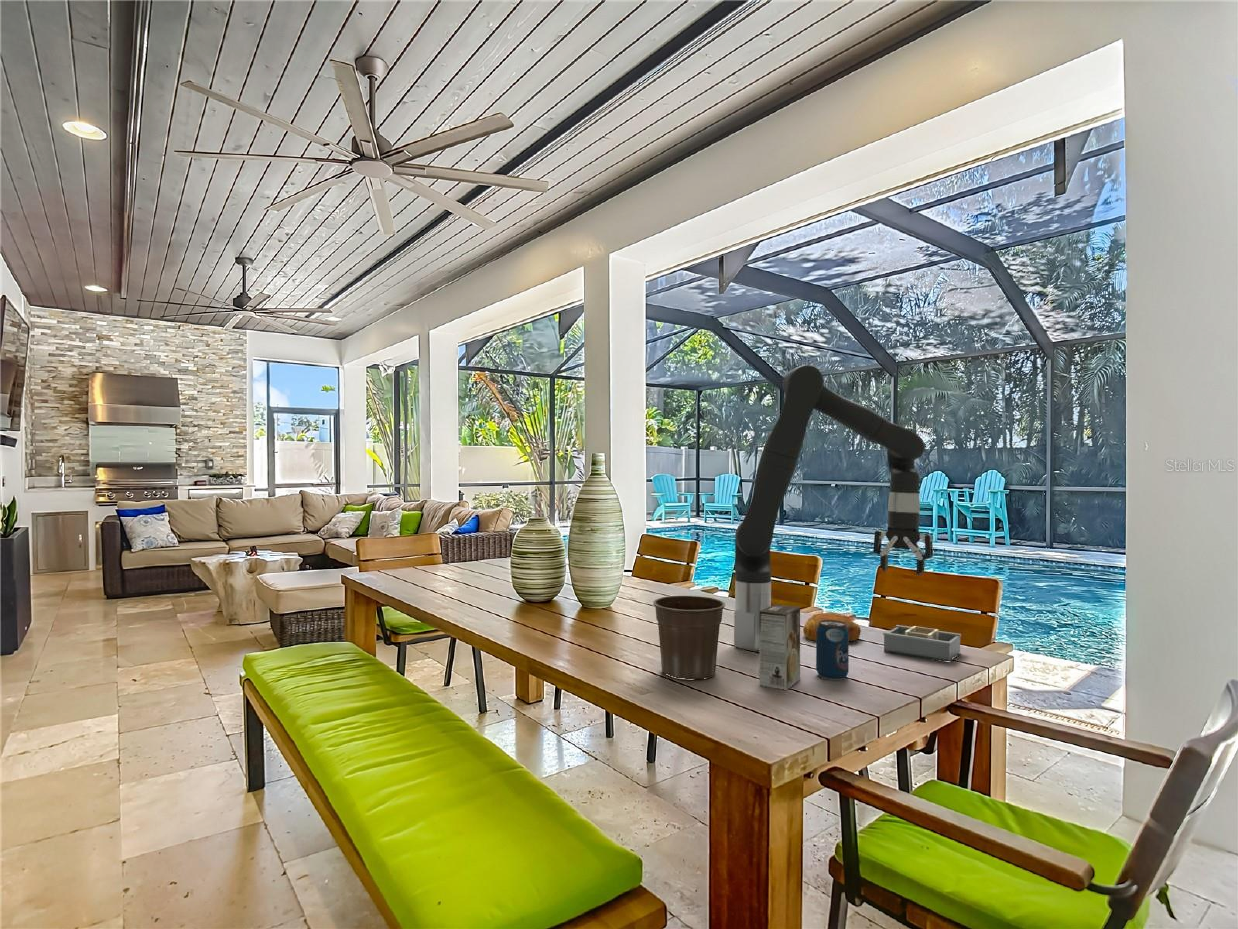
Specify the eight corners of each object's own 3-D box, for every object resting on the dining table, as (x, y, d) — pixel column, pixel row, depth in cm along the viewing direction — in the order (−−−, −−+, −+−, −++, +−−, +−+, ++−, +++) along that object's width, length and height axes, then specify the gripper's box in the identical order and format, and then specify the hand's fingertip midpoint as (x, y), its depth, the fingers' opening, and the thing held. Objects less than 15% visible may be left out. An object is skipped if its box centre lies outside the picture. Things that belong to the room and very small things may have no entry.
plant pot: (716, 688, 142) (716, 611, 143) (643, 679, 148) (644, 605, 148) (730, 667, 158) (731, 598, 158) (664, 660, 163) (664, 593, 163)
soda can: (845, 683, 147) (845, 627, 147) (812, 678, 150) (813, 624, 150) (851, 674, 153) (851, 621, 153) (819, 670, 156) (820, 618, 156)
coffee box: (772, 675, 152) (773, 603, 152) (800, 680, 149) (801, 607, 149) (758, 685, 144) (758, 610, 144) (787, 691, 141) (788, 614, 141)
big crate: (950, 663, 163) (950, 642, 163) (883, 651, 173) (883, 632, 173) (961, 653, 172) (961, 634, 172) (896, 643, 182) (896, 625, 182)
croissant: (864, 652, 181) (869, 623, 180) (807, 643, 181) (811, 614, 181) (848, 638, 195) (852, 610, 195) (794, 629, 195) (799, 602, 195)
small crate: (930, 655, 167) (930, 635, 168) (904, 651, 171) (904, 631, 171) (938, 649, 174) (938, 629, 174) (913, 645, 177) (913, 626, 177)
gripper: (871, 508, 177) (869, 570, 177) (928, 512, 168) (926, 577, 168) (880, 508, 183) (878, 568, 183) (936, 511, 174) (935, 574, 174)
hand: (901, 572), depth 175 cm, fingers open, 8 cm apart
